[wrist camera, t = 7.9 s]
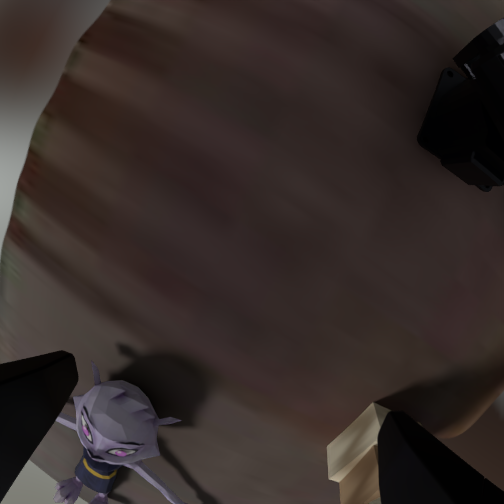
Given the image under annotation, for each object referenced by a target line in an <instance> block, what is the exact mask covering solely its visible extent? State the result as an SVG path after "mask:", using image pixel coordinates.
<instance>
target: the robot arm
mask: <svg viewBox="0 0 504 504" xmlns="http://www.w3.org/2000/svg"><path fill="white" fill-rule="evenodd" d="M453 60H454V62H455V63H456V64H457V66H458V67H461V69H462V70H463V71H464V73H465V74H466V76H467V77H468V79H465V78H464V77H463V76H461V75H460V74H459V73H457V72H456V71H455V70H453V69H452V68H449V67H447V68H445V69H444V70H443V71H442V73H441V76H440V79H439V82H438V85H437V87H436V90H435V93H434V96H433V98H432V101H431V104H430V106H429V109H428V111H427V114H426V116H425V119H424V121H423V124H422V126H421V129H420V131H419V134H418V137H417V141H418V143H419V145H420V146H421V147H423V148H424V149H426V150H427V151H429V152H430V153H432V154H433V155H435V156H436V157H438V158H439V159H441V160H440V162H441V164H442V166H444V167H445V168H446V169H448V170H449V171H451V172H452V173H453V174H455V175H456V176H457V177H459V178H460V179H461V180H463V181H464V182H465V183H467V184H468V185H475V186H477V187H478V188H479V189H480V190H482V191H484V192H489V191H490V190H491V189H492V186H502V185H504V18H502V19H501V20H499V21H498V22H496V23H495V24H493V25H492V26H490V27H489V28H487V29H486V30H484V31H483V32H482V33H480V34H479V35H478V36H476V37H475V38H474V39H473V40H472V41H471V42H470V43H468V44H467V45H466V46H465V47H464V48H463V49H462V50H461V51H460V52H459V53H458V54H457V55H456V56H455V57H454V58H453ZM447 72H448V73H449V74H450V75H451V77H449V76H448V74H447ZM423 136H425V137H426V138H427V143H425V142H424V141H423ZM485 186H486V187H485ZM77 382H78V371H77V367H76V362H75V357H74V356H73V354H71V353H69V352H66V351H63V350H61V351H56V352H52V353H48V354H44V355H39V356H35V357H30V358H26V359H21V360H17V361H12V362H7V363H3V364H0V503H1V501H2V500H3V498H4V496H5V495H6V493H7V492H8V490H9V489H10V487H11V486H12V484H13V482H14V481H15V479H16V478H17V476H18V475H19V473H20V471H21V470H22V469H23V467H24V465H25V464H26V463H27V461H28V460H29V458H30V457H31V455H32V454H33V452H34V451H35V449H36V448H37V446H38V445H39V444H40V442H41V441H42V439H43V438H44V436H45V435H46V434H47V432H48V431H49V429H50V428H51V426H52V425H53V424H54V422H55V421H56V419H57V418H58V416H59V414H60V413H61V411H62V409H63V407H64V405H65V404H66V402H67V400H68V398H69V397H70V395H71V393H72V391H73V390H74V388H75V386H76V385H77ZM377 445H378V478H379V491H380V499H381V504H504V491H503V490H501V489H500V488H498V487H497V486H496V485H494V484H493V483H492V482H491V481H489V480H488V479H487V478H485V479H484V476H483V475H482V474H480V473H479V472H478V471H476V470H475V469H474V468H473V467H471V466H470V465H469V464H468V463H466V462H465V461H464V460H463V459H461V458H460V457H459V456H458V455H456V454H455V453H454V452H453V451H452V450H450V449H449V448H448V447H447V446H445V445H444V444H443V443H442V442H440V441H439V440H438V439H437V438H436V437H434V436H433V435H432V434H431V433H429V432H428V431H427V430H426V429H425V428H423V427H422V426H421V425H420V424H418V423H417V422H416V421H415V420H414V419H412V418H411V417H410V416H409V415H408V414H406V413H405V412H404V411H389V412H388V413H387V415H386V417H385V419H384V421H383V424H382V426H381V428H380V430H379V432H378V437H377Z"/></svg>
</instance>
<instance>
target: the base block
mask: <svg viewBox="0 0 504 504" xmlns="http://www.w3.org/2000/svg"><path fill="white" fill-rule="evenodd" d="M389 411H391V410H389V409H387V408H385V407H382V406H380V405H378V404H376V403H374V402H373V403H372V404H371V405H370V406H369V407H368V408H367V409H366V410H365V411H364V412H363V413H362V414H361V415H360V416H359V417H358V418H357V419H356V420H355V421H354V422H353V423H352V424H351V425H350V426H349V427H347V428H346V429H345V430H344V431H343V432H342V433H341V434H340V435H339V436H338V437H337V438H336V439H334V440H333V441H332V442H331V443H330V444H329V445H328V446H327V456H328V475H329V479H330V480H333V481H337V482H340V481H341V480H342V479H343V478H344V477H345V476H346V475H347V474H348V473H349V472H350V471H351V470H352V469H353V467H354V466H355V465H356V464H357V463H358V462H359V461H360V460H361V459H362V458H363V456H364V455H365V454H366V453H367V452H368V451H369V450H370V448H371V447H372V446H373V445H377V437H378V432H379V430H380V428H381V426H382V424H383V421H384V419H385V417H386V415H387V413H388V412H389ZM417 423H418V424H420V425H421V423H419V422H417ZM421 426H422V425H421ZM377 446H378V445H377Z"/></svg>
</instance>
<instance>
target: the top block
mask: <svg viewBox="0 0 504 504" xmlns="http://www.w3.org/2000/svg"><path fill="white" fill-rule="evenodd" d="M339 484H340V499H341V504H369V503H370V502H372V501H373V500H375V499H377V498H379V497H380V491H379V478H378V446H377V445H373V446H372V447H371V448H370V450H369V451H368V452H367V453H366V454H365V455H364V456H363V458H362V459H361V460H360V461H359V462H358V463H357V464H356V465H355V466H354V467H353V469H352V470H351V471H350V472H349V473H348V474H347V475H346V476H345V477H344V478H343V479H342V480H341V481H340V482H339Z"/></svg>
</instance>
